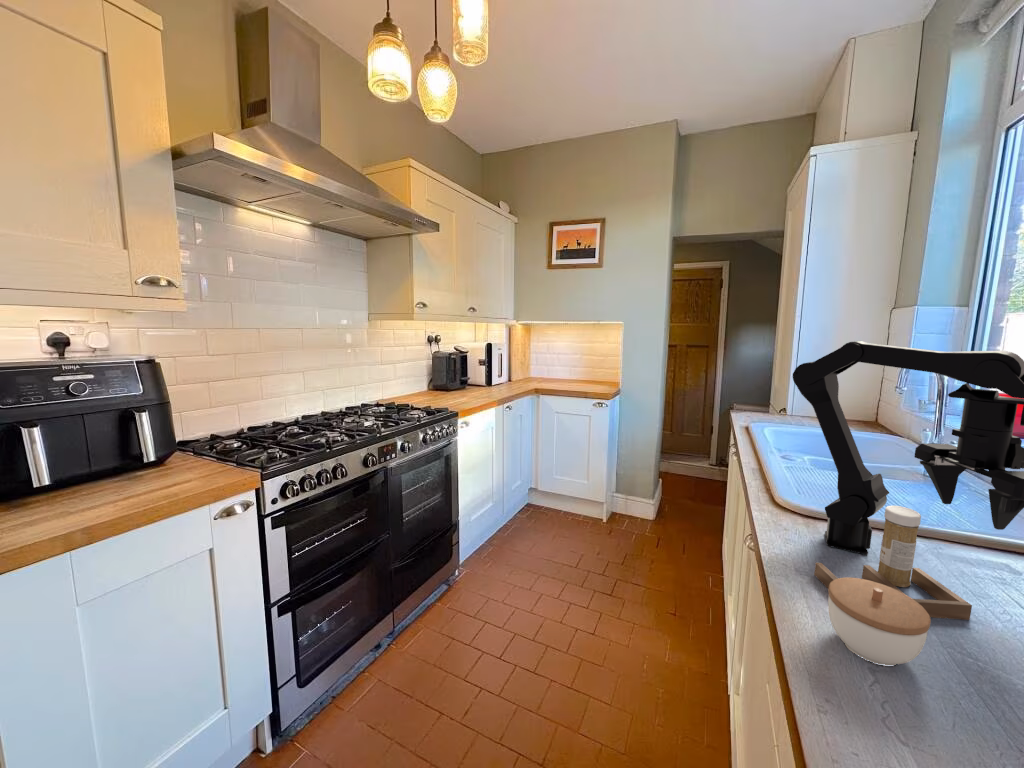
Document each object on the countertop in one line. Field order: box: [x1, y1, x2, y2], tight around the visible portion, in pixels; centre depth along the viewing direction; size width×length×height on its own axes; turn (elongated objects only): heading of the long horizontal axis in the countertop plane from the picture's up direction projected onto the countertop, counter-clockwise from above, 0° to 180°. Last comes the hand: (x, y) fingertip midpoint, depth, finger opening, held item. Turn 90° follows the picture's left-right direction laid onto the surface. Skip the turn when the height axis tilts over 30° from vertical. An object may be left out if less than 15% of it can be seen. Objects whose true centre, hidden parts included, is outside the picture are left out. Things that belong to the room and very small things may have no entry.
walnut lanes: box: [813, 562, 973, 621], centre depth 70 cm, size 10×17×2 cm, turn 83°
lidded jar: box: [827, 576, 932, 666], centre depth 58 cm, size 11×11×9 cm
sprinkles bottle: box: [876, 505, 922, 588], centre depth 73 cm, size 5×5×13 cm
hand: (971, 515), depth 71 cm, fingers open, 9 cm apart
